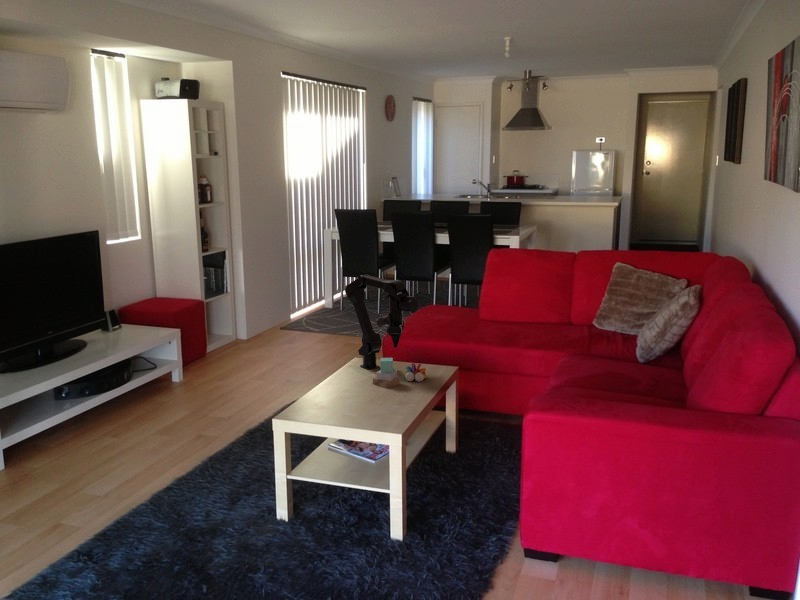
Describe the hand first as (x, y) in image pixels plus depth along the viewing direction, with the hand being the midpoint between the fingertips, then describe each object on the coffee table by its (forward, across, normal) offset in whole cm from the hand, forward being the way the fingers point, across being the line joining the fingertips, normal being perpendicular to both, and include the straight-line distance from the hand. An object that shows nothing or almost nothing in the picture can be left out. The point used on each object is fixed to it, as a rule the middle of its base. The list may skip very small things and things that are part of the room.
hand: (396, 344), depth 306 cm
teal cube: (+8, +15, -3) cm, 17 cm away
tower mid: (+11, +15, -3) cm, 18 cm away
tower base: (+14, +15, -3) cm, 20 cm away
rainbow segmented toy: (+13, +8, +9) cm, 18 cm away
